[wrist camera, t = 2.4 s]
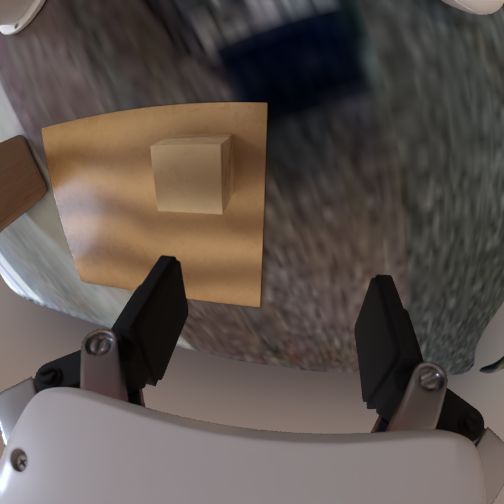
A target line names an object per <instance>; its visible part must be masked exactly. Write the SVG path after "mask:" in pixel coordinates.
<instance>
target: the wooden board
mask: <svg viewBox="0 0 504 504" xmlns="http://www.w3.org/2000/svg"><path fill="white" fill-rule="evenodd" d="M175 134H234V194H233V196H232V198H231V199H230V201H229V203H228V205H227V207H226V209H225V211H224V213H223V214H206V213H187V212H166V211H158V208H157V201H156V193H155V185H154V177H153V168H152V159H151V148H150V146H151V145H153V144H155V143H157V142H159V141H161V140H163V139H165V138H167V137H169V136H171V135H175ZM42 135H43V142H44V148H45V154H46V160H47V165H48V170H49V175H50V180H51V184H52V189H53V193H54V197H55V201H56V205H57V209H58V212H59V216H60V219H61V223H62V226H63V230H64V233H65V236H66V239H67V242H68V245H69V248H70V251H71V254H72V257H73V260H74V263H75V265H76V268H77V271H78V273H79V276H80V279H81V281H84V282H89V283H94V284H100V285H105V286H111V287H116V288H122V289H128V290H134V291H135V290H136V289H137V287H138V286H139V285H141V284H142V283H143V281H144V280H145V278H146V277H147V275H148V274H149V272H150V271H151V269H152V268H153V266H154V265H155V263H156V262H157V260H158V259H159V257H160V256H161V255H166V256H175V257H176V259H177V260H179V261H180V263H181V269H182V275H183V281H184V287H185V293H186V298H187V299H195V300H202V301H210V302H218V303H227V304H236V305H245V306H254V307H260V298H261V275H262V251H263V226H264V199H265V169H266V137H267V103H259V102H214V103H192V104H177V105H165V106H156V107H147V108H139V109H132V110H125V111H118V112H112V113H107V114H101V115H96V116H91V117H86V118H82V119H77V120H73V121H68V122H64V123H60V124H57V125H53V126H49V127H45V128H42Z"/></svg>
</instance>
